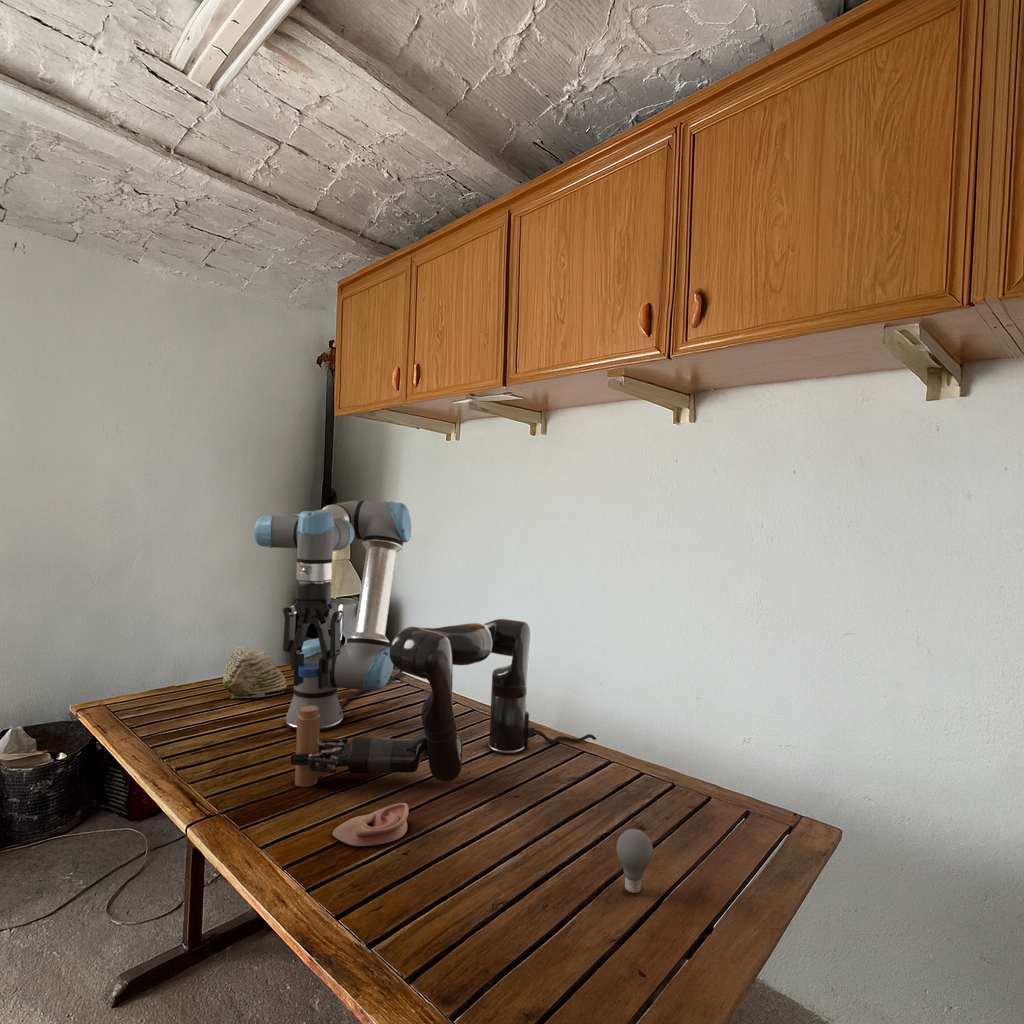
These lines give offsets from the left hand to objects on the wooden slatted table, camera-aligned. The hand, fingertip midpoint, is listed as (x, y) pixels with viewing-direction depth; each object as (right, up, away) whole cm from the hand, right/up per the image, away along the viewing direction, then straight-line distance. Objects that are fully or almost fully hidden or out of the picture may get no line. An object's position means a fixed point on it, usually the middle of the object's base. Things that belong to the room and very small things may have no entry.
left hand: (310, 685), depth 140 cm
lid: (0, +4, 0) cm, 4 cm away
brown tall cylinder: (-1, -21, 0) cm, 21 cm away
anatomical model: (+18, -23, -20) cm, 35 cm away
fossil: (-36, -19, +58) cm, 71 cm away
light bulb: (+65, -25, -35) cm, 78 cm away
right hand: (-3, -15, 0) cm, 15 cm away
